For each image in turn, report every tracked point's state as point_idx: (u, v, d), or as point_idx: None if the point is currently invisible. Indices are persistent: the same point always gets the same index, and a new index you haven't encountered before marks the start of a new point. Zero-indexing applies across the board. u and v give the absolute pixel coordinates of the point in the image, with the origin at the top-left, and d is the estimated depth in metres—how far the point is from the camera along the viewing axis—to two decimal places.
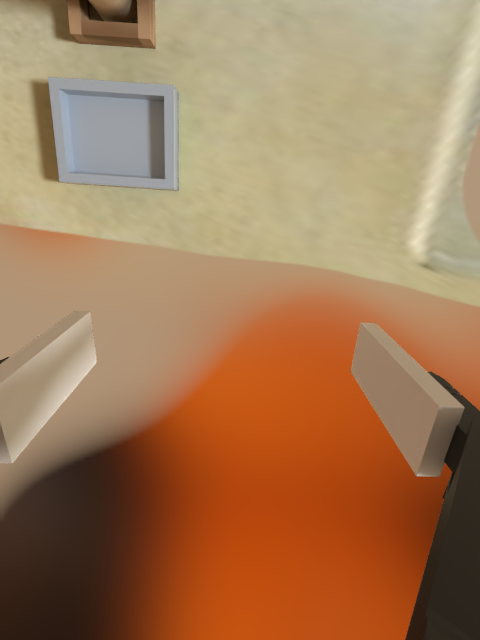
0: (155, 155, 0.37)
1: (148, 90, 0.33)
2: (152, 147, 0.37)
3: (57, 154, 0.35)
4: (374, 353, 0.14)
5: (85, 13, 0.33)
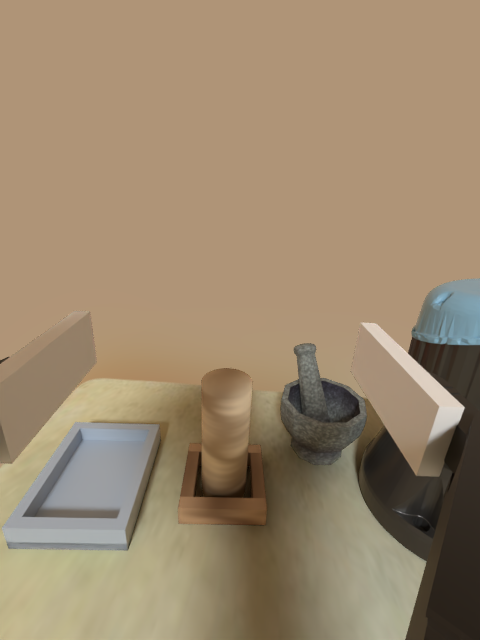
0: (64, 515, 0.29)
1: (127, 501, 0.29)
2: (75, 511, 0.30)
3: (98, 423, 0.38)
4: (374, 353, 0.14)
5: None
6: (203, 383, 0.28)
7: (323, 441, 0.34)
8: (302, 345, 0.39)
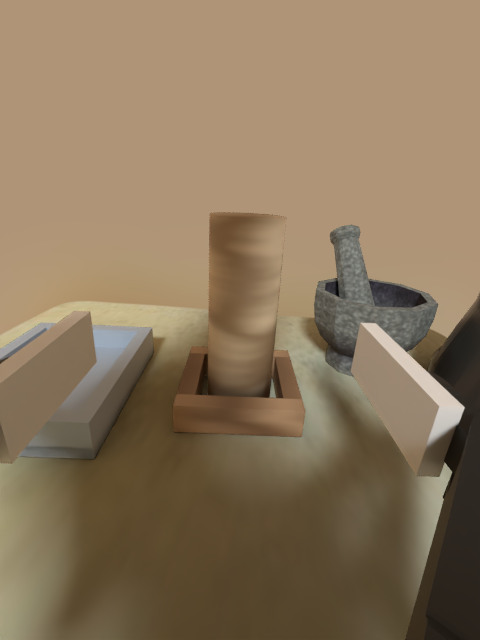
0: None
1: (97, 393, 0.19)
2: None
3: None
4: (374, 353, 0.14)
5: None
6: (212, 214, 0.19)
7: None
8: (342, 226, 0.30)
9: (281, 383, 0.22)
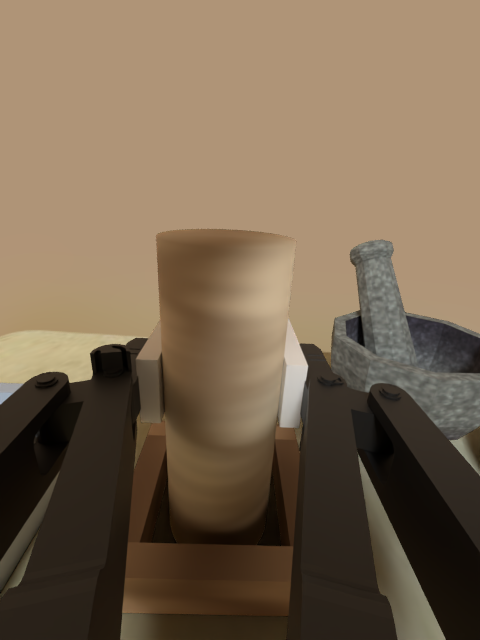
0: None
1: None
2: None
3: None
4: None
5: None
6: (161, 235, 0.10)
7: (437, 413, 0.15)
8: (369, 241, 0.21)
9: (286, 504, 0.14)
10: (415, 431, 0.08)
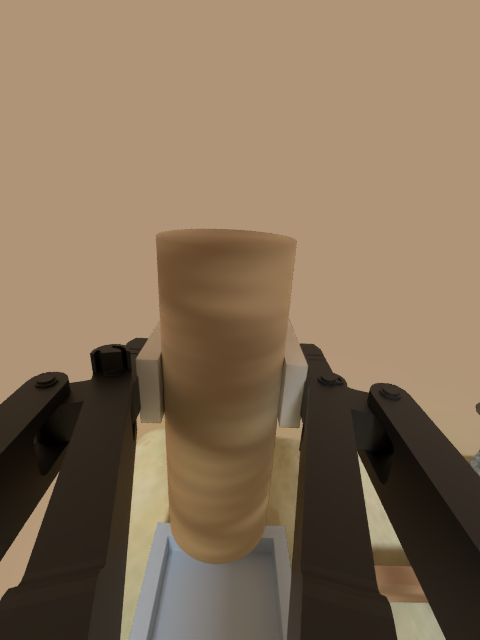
0: None
1: None
2: None
3: None
4: None
5: None
6: (161, 235, 0.10)
7: None
8: None
9: None
10: (415, 431, 0.09)
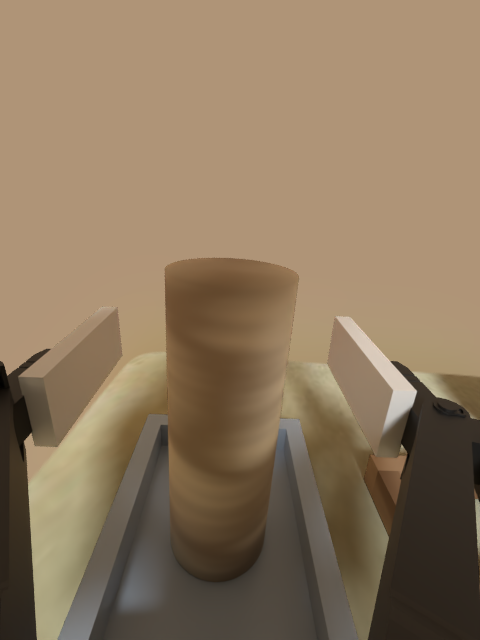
0: (174, 631, 0.12)
1: (332, 603, 0.12)
2: (196, 620, 0.12)
3: None
4: (345, 344, 0.14)
5: None
6: (169, 269, 0.11)
7: None
8: None
9: None
10: None
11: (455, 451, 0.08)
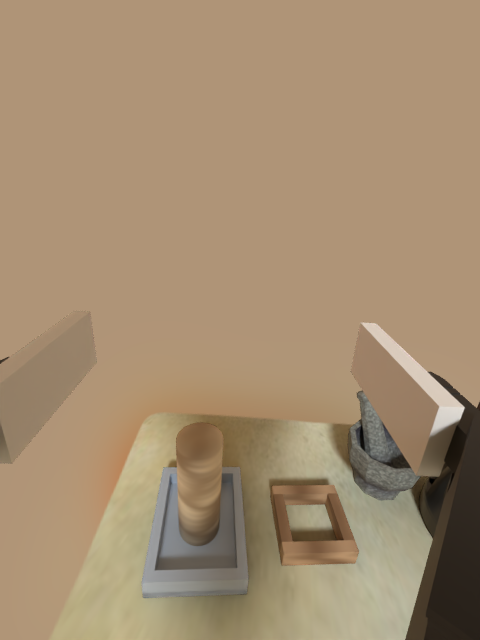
0: (183, 563, 0.33)
1: (240, 550, 0.33)
2: (191, 559, 0.33)
3: None
4: (374, 353, 0.14)
5: (290, 501, 0.40)
6: (177, 442, 0.31)
7: (395, 484, 0.39)
8: None
9: (339, 524, 0.37)
10: None
11: None
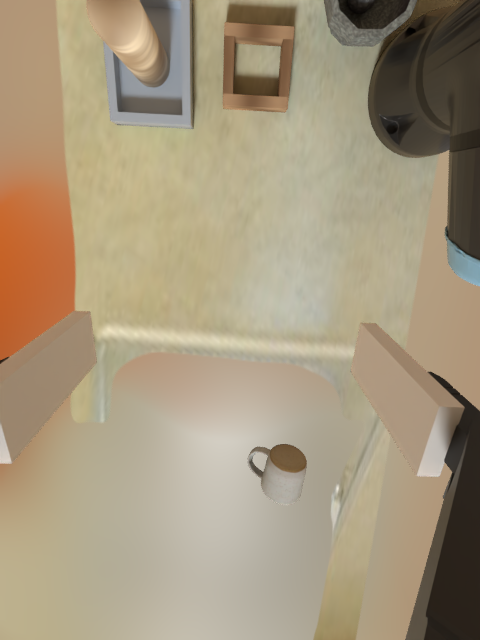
0: (141, 102, 0.41)
1: (185, 100, 0.39)
2: (147, 99, 0.41)
3: None
4: (374, 353, 0.14)
5: (243, 41, 0.39)
6: (90, 16, 0.27)
7: (353, 43, 0.35)
8: None
9: (280, 79, 0.39)
10: None
11: None
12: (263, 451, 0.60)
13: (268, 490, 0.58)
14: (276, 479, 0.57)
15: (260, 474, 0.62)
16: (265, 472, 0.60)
